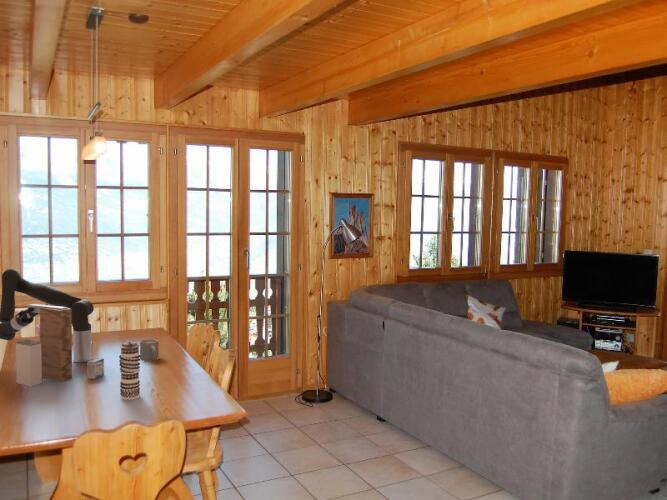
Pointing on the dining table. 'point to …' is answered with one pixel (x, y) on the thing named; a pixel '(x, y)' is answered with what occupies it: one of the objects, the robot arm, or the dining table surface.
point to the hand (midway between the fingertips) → (40, 307)
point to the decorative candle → (129, 370)
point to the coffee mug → (149, 349)
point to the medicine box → (95, 368)
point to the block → (28, 362)
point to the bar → (38, 306)
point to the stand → (56, 343)
